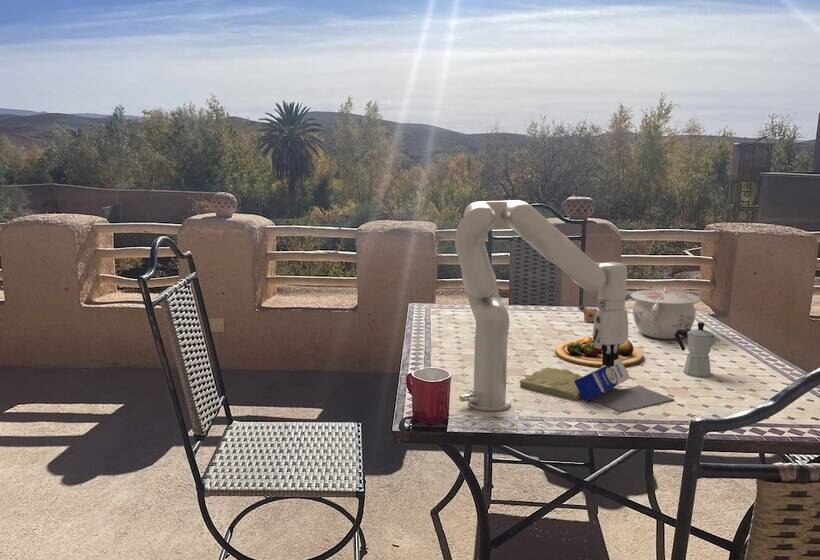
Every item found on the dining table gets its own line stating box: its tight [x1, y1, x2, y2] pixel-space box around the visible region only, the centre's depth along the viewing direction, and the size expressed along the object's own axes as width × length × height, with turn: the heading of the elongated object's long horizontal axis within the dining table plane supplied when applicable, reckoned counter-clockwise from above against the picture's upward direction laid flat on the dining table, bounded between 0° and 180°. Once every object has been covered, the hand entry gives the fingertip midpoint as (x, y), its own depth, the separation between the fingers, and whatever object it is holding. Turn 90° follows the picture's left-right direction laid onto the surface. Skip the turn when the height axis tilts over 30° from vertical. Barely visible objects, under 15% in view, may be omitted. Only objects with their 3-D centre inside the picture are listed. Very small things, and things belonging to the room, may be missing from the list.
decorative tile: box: [519, 367, 583, 402], centre depth 216 cm, size 19×20×4 cm
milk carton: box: [574, 359, 631, 402], centre depth 209 cm, size 7×7×20 cm
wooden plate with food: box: [554, 335, 644, 369], centre depth 251 cm, size 32×32×8 cm
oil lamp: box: [578, 304, 598, 324], centre depth 302 cm, size 9×4×8 cm, turn 75°
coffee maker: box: [675, 321, 720, 378], centre depth 229 cm, size 15×9×18 cm, turn 45°
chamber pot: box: [629, 286, 702, 341], centre depth 278 cm, size 28×28×21 cm
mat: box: [590, 385, 675, 413], centre depth 205 cm, size 22×14×1 cm, turn 118°
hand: (608, 365), depth 198 cm, fingers closed
